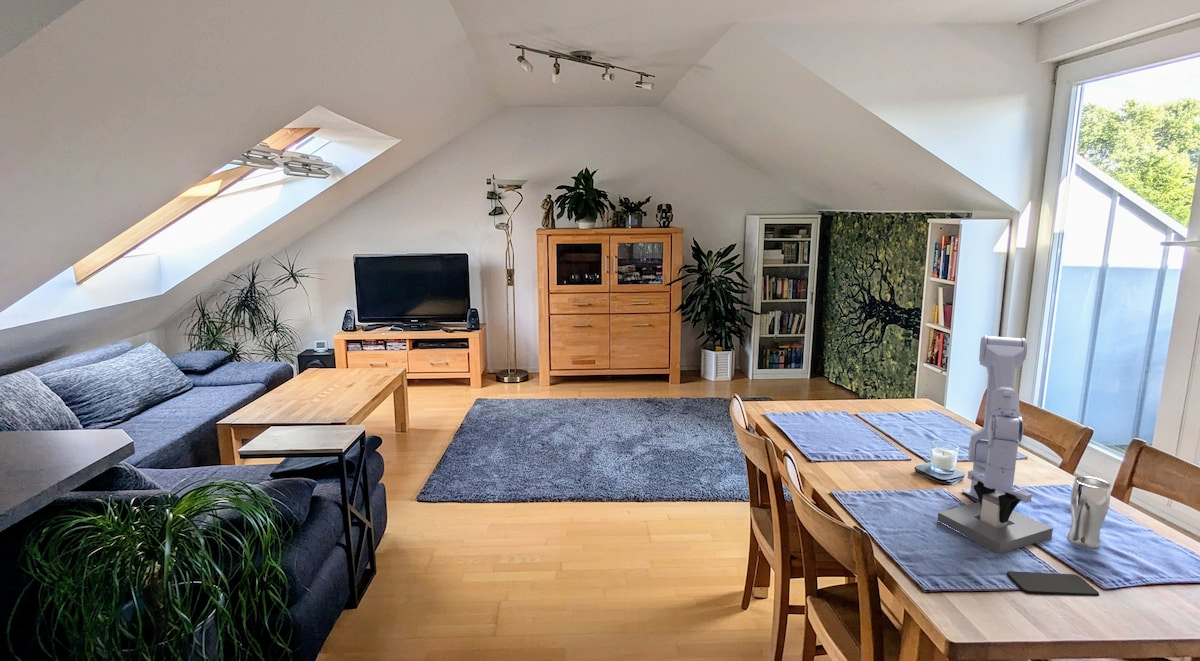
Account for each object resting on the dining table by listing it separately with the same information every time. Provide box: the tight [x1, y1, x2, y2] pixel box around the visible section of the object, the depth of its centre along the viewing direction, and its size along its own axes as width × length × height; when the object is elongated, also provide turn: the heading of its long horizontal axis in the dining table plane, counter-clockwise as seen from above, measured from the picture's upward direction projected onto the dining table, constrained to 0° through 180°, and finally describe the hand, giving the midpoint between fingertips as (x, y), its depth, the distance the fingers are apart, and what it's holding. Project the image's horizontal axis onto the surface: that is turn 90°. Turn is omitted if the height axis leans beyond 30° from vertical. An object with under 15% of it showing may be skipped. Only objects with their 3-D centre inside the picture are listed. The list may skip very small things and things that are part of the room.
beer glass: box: [1066, 475, 1112, 549], centre depth 143 cm, size 7×7×15 cm
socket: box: [937, 501, 1054, 555], centre depth 150 cm, size 18×16×2 cm
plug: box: [980, 492, 1007, 529], centre depth 149 cm, size 4×4×8 cm
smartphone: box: [1006, 571, 1100, 597], centre depth 128 cm, size 7×1×15 cm
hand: (994, 517), depth 149 cm, fingers closed on plug, 4 cm apart
